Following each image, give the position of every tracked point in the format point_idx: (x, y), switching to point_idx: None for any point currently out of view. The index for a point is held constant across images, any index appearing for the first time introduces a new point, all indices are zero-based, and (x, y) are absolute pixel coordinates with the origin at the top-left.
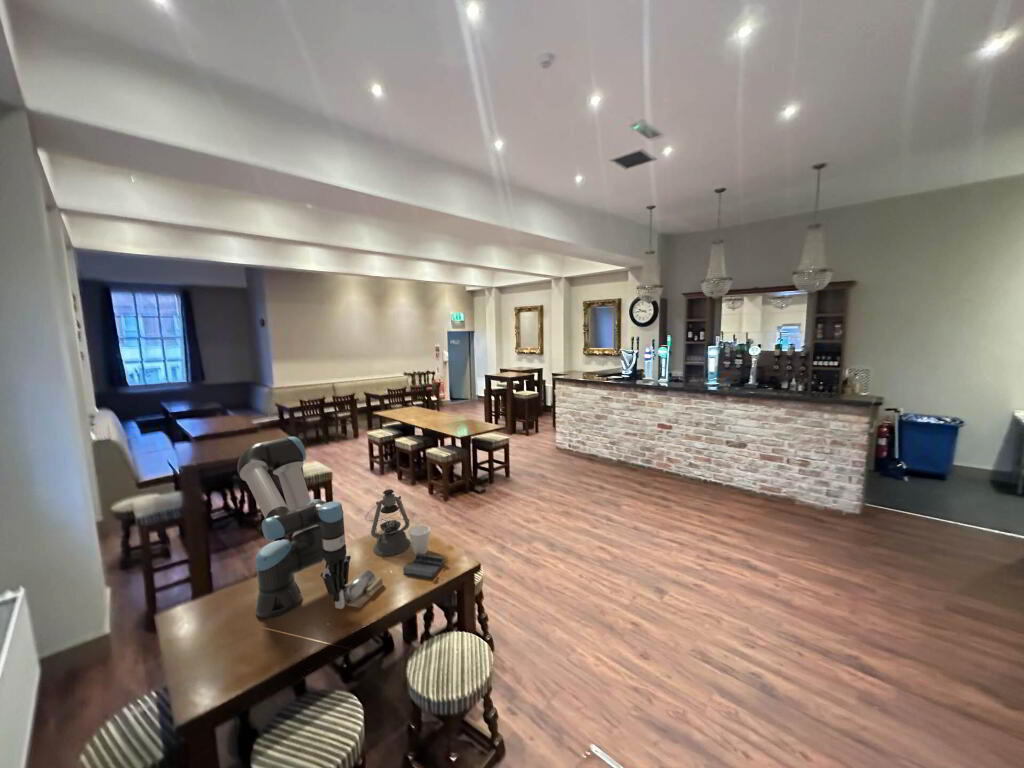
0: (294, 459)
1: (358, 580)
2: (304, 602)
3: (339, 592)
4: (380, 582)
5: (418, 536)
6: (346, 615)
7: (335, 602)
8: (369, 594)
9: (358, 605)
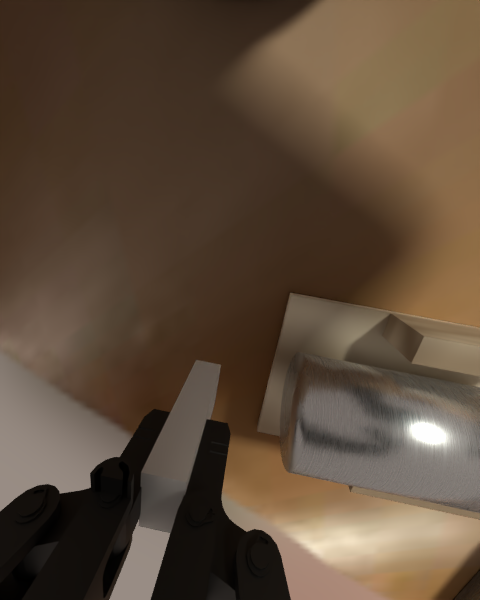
0: None
1: (418, 490)
2: (300, 32)
3: (138, 518)
4: None
5: None
6: None
7: (183, 387)
8: None
9: (272, 418)
